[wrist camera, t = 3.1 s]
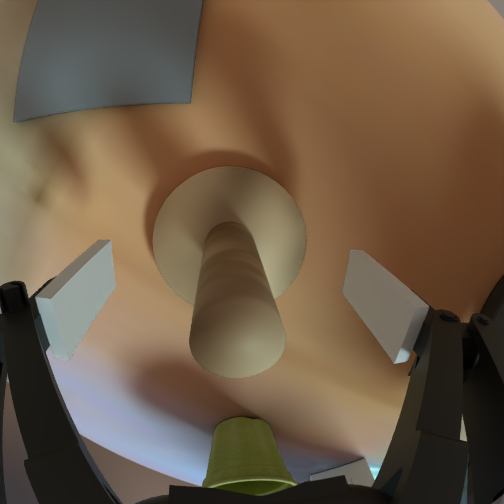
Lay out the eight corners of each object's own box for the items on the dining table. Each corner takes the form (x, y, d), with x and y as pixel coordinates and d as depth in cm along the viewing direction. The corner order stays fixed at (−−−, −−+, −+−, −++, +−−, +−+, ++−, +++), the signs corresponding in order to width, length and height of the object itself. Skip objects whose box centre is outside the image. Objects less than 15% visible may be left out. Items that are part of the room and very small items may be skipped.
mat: (213, -53, 12) (213, -57, 11) (190, 103, 16) (189, 101, 16) (51, -24, 10) (48, -27, 10) (17, 122, 15) (13, 122, 14)
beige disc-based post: (309, 172, 19) (406, 204, 8) (292, 306, 22) (340, 420, 12) (156, 164, 18) (75, 187, 7) (159, 302, 21) (121, 421, 10)
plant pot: (179, 422, 26) (174, 492, 18) (260, 392, 25) (273, 470, 17) (228, 458, 29) (232, 517, 21) (298, 433, 28) (315, 496, 20)
